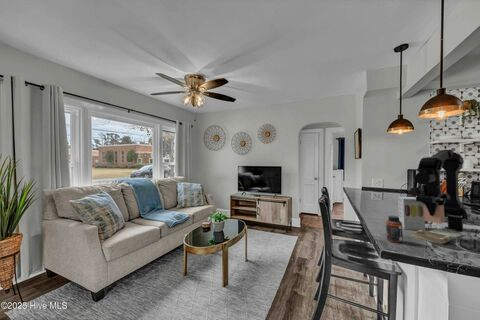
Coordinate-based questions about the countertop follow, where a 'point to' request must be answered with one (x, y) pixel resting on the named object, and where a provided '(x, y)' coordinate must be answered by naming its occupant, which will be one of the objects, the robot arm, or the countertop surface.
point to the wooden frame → (431, 236)
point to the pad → (446, 233)
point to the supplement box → (411, 213)
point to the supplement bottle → (394, 229)
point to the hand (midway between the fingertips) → (434, 215)
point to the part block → (437, 216)
